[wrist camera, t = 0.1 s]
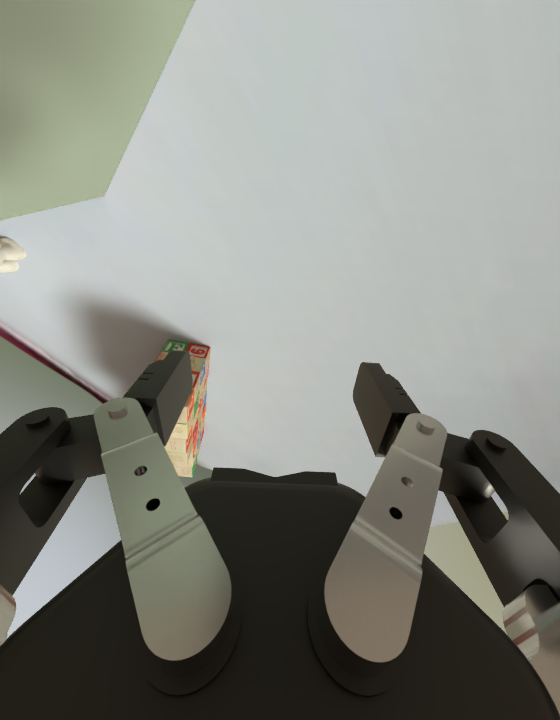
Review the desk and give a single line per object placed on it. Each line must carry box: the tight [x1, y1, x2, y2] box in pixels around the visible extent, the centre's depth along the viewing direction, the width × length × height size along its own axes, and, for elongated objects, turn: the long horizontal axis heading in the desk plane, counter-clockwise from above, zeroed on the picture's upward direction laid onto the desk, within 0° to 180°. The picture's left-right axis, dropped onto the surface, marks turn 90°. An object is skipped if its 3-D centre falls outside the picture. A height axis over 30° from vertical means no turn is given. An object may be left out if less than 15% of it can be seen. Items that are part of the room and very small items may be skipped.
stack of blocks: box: [155, 340, 210, 477], centre depth 40 cm, size 21×6×12 cm, turn 168°
